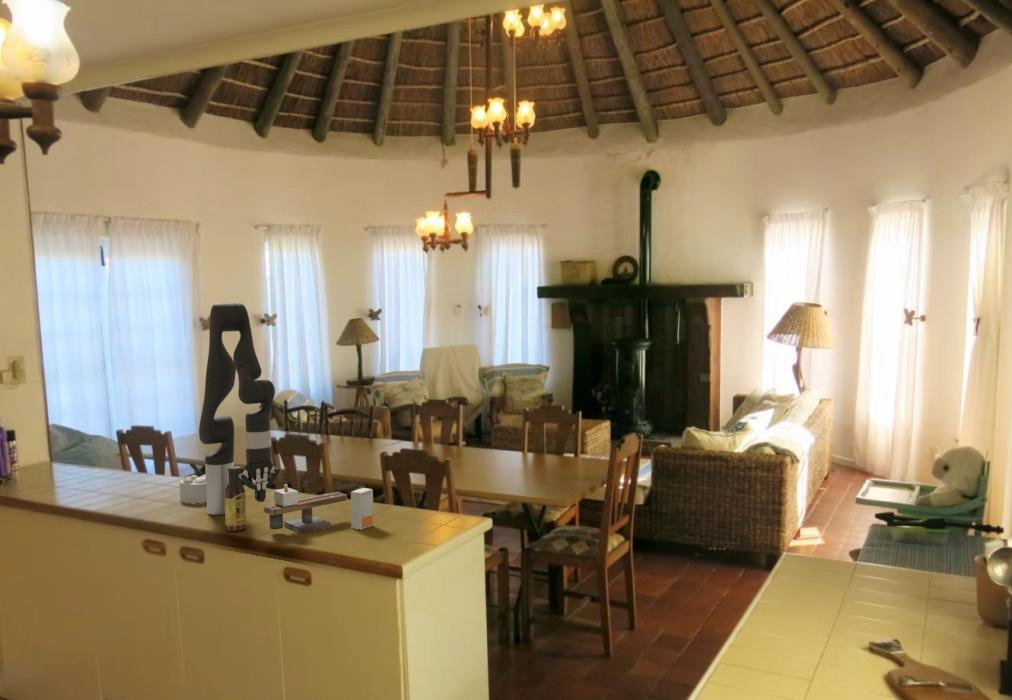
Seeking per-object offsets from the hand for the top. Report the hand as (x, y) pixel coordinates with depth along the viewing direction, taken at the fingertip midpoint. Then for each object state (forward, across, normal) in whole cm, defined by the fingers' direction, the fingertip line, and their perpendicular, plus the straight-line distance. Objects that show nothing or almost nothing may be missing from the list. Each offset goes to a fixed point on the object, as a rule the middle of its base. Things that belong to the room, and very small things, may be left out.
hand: (260, 501), depth 233 cm
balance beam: (+11, -16, 0) cm, 19 cm away
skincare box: (+12, -28, +13) cm, 33 cm away
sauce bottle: (+11, +2, -14) cm, 18 cm away
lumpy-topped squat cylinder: (+11, -3, -61) cm, 62 cm away
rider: (+4, -8, 0) cm, 9 cm away
